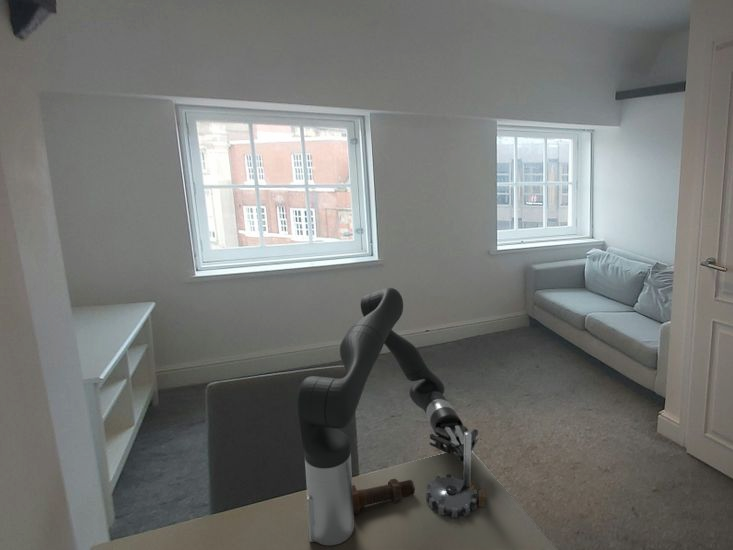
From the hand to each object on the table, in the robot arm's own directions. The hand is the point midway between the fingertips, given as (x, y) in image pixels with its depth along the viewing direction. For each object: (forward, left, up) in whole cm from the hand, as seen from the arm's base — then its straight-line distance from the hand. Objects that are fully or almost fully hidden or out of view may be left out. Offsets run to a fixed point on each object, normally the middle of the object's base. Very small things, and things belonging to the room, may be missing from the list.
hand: (466, 459), depth 95 cm
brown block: (+2, -5, -8) cm, 9 cm away
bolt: (-20, -1, -8) cm, 22 cm away
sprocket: (-4, -2, -8) cm, 9 cm away
